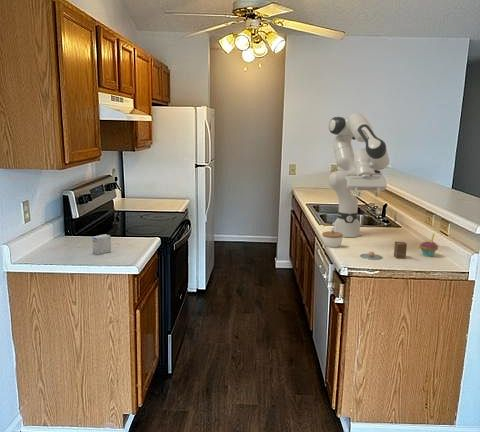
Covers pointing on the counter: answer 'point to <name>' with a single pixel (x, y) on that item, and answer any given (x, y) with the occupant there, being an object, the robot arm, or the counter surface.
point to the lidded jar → (332, 239)
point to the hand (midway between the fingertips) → (367, 195)
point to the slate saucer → (371, 256)
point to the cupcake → (429, 248)
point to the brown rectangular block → (400, 250)
